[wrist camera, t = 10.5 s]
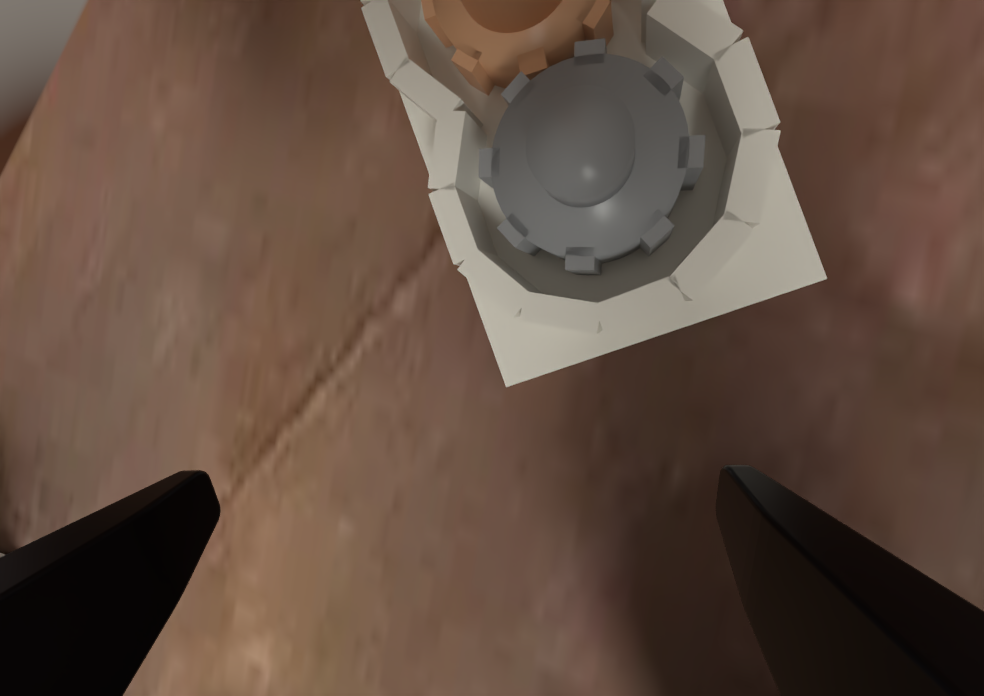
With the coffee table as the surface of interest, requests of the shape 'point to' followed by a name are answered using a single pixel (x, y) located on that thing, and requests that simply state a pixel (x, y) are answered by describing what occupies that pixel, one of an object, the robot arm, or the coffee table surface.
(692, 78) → the housing
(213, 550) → the coffee table surface
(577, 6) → the knob on notched ring
